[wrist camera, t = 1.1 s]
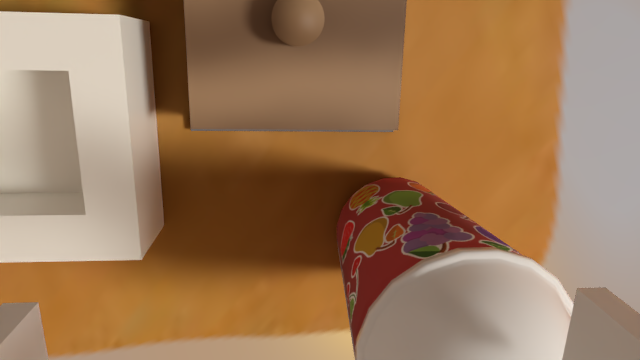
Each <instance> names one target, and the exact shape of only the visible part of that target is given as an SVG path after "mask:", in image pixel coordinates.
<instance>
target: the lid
mask: <svg viewBox="0 0 640 360" xmlns="http://www.w3.org/2000/svg"><path fill="white" fill-rule="evenodd" d="M406 1H407V0H184V16H185V34H186V52H187V71H188V89H189V107H190V126H191V129H277V130H398V124H399V108H400V93H401V78H402V63H403V47H404V32H405V17H406Z"/></svg>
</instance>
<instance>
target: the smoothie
mask: <svg viewBox="0 0 640 360" xmlns="http://www.w3.org/2000/svg"><path fill="white" fill-rule="evenodd" d="M337 244H338V251H339V258H340V264H341V271H342V277H343V284H344V291H345V297H346V304H347V310H348V317H349V323H350V330H351V337H352V343H353V349H354V356H355V360H562V358H563V353H564V348H565V344H566V339H567V334H568V329H569V324H570V320H571V315H572V310H573V305H574V303H573V301H572V300H571V298H570V296H569V295H568V293H567V292H566V290H565V288H564V287H563V285H562V284H561V282H560V281H559V279H558V278H557V277H555V276H554V275H553V274H551V273H550V272H549V271H547V270H546V269H545V268H543V267H542V266H541V265H539V264H538V263H537V262H535V261H534V260H533V259H531V258H529V257H527V256H524V255H521V254H520V253H519V252H517V251H516V250H514V249H513V248H511V247H510V246H509V245H507V244H506V243H504V242H503V241H501V240H500V239H498V238H497V237H496V236H494V235H493V234H491V233H490V232H488V231H487V230H485V229H484V228H483V227H481V226H480V225H478V224H477V223H475V222H474V221H472V220H471V219H470V218H468V217H467V216H465V215H464V214H462V213H461V212H459V211H458V210H457V209H455V208H454V207H452V206H451V205H449V204H448V203H446V202H445V201H444V200H442V199H441V198H439V197H438V196H436V195H435V194H434V193H432V192H431V191H429V190H428V189H426V188H425V187H423V186H422V185H420V184H419V183H417V182H415V181H411V180H408V179H404V178H383V179H380V180H377V181H375V182H372V183H369V184H366V185H365V186H364V187H362V188H361V189H360V190H358V191H357V192H356V193H354V194H353V195H352V196H351V197H350V199H349V200H348V201H347V203H346V204H345V206H344V207H343V208H342V210H341V213H340V217H339V220H338V223H337Z"/></svg>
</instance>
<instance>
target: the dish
mask: <svg viewBox="0 0 640 360" xmlns="http://www.w3.org/2000/svg"><path fill="white" fill-rule="evenodd" d="M163 226H164V214H163V200H162V187H161V173H160V160H159V146H158V133H157V119H156V106H155V92H154V79H153V65H152V52H151V38H150V25H149V21H145V20H141V19H136V18H132V17H127V16H123V15H112V14H75V13H38V12H1V11H0V262H53V261H108V260H142V258H143V257H144V255H145V254H146V252H147V251H148V249H149V248H150V246H151V245H152V243H153V242H154V240H155V239H156V237H157V235H158V234H159V232H160V231H161V229H162V228H163Z"/></svg>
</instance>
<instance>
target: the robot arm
mask: <svg viewBox="0 0 640 360" xmlns="http://www.w3.org/2000/svg"><path fill="white" fill-rule="evenodd" d="M0 360H48V354H47V349H46V343H45V338H44V332H43V326H42V321H41V315H40V310H39V304H38V302H35V303H3V304H2V305H1V306H0ZM562 360H640V314H639V313H638V312H636V311H635V310H634V309H632V308H631V307H630V306H629V305H627V304H626V303H625V302H623V301H622V300H621V299H619V298H618V297H617V296H616V295H614V294H613V293H612V292H610V291H609V290H608V289H606V288H577V291H576V295H575V301H574V305H573V310H572V315H571V320H570V324H569V329H568V334H567V339H566V344H565V348H564V353H563V358H562Z"/></svg>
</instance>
